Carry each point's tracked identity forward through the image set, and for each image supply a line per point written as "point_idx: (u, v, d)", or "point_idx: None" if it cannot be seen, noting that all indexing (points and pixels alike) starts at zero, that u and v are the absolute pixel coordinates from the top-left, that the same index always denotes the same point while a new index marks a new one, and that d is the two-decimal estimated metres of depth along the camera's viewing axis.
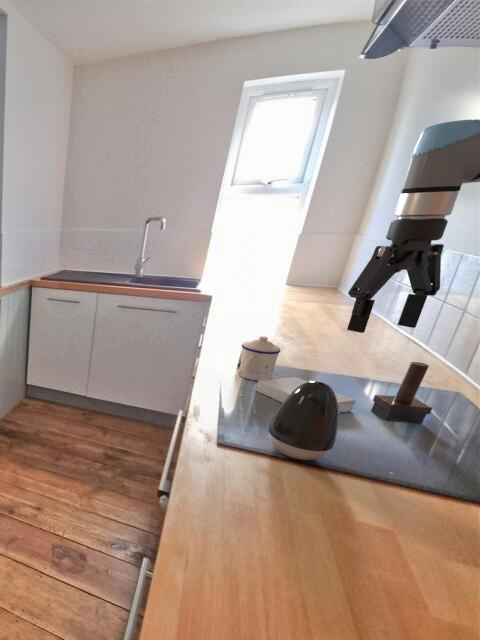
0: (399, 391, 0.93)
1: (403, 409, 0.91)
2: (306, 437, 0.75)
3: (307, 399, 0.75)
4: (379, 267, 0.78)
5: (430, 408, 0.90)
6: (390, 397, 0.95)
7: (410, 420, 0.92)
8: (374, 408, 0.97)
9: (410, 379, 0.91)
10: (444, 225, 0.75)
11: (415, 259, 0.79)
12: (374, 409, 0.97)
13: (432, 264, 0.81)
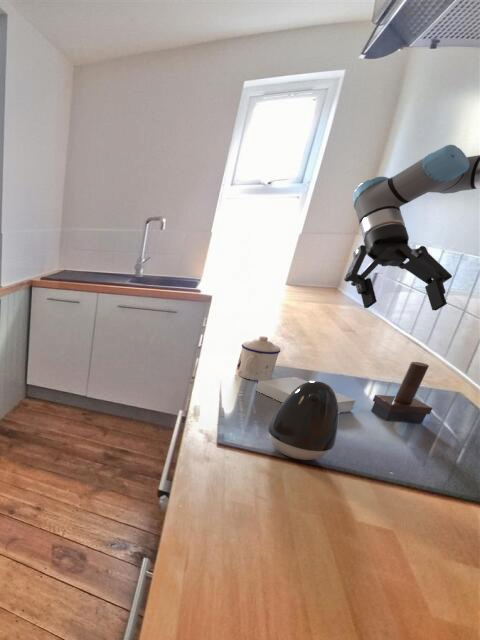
0: (399, 391, 0.93)
1: (403, 409, 0.91)
2: (306, 437, 0.75)
3: (307, 399, 0.75)
4: (358, 257, 1.00)
5: (430, 408, 0.90)
6: (390, 397, 0.95)
7: (410, 420, 0.92)
8: (374, 408, 0.97)
9: (410, 379, 0.91)
10: (400, 226, 0.98)
11: (397, 254, 0.99)
12: (374, 409, 0.97)
13: (426, 260, 0.98)
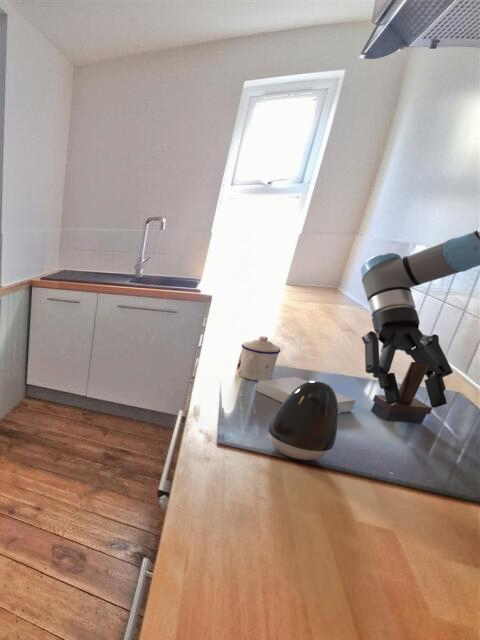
0: (399, 391, 0.93)
1: (403, 409, 0.91)
2: (306, 437, 0.75)
3: (307, 399, 0.75)
4: (372, 346, 0.95)
5: (430, 408, 0.90)
6: None
7: (410, 420, 0.92)
8: (374, 408, 0.97)
9: (410, 379, 0.91)
10: (410, 310, 0.94)
11: (407, 339, 0.94)
12: (374, 409, 0.97)
13: (433, 349, 0.93)
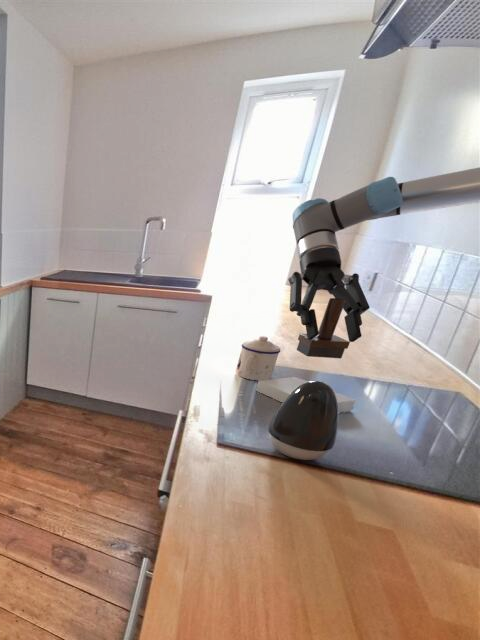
0: (320, 327, 0.96)
1: (322, 344, 0.95)
2: (306, 437, 0.75)
3: (307, 399, 0.75)
4: (296, 285, 0.98)
5: (348, 342, 0.94)
6: None
7: (330, 355, 0.96)
8: (299, 346, 1.00)
9: (329, 314, 0.94)
10: (332, 250, 0.97)
11: (329, 278, 0.97)
12: (298, 348, 1.00)
13: (353, 287, 0.96)
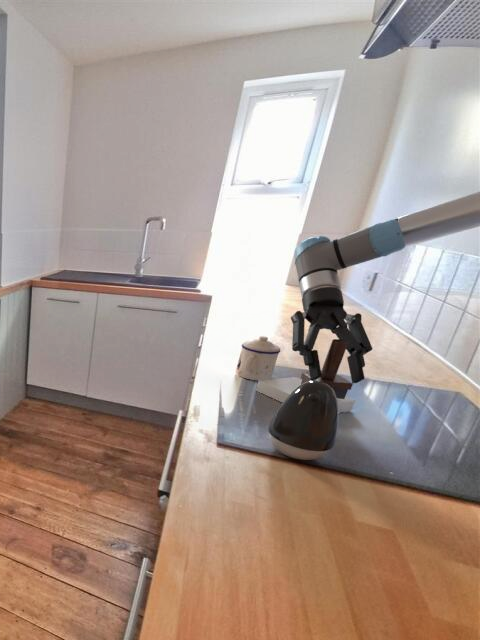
0: (323, 368, 0.96)
1: None
2: (306, 437, 0.75)
3: (307, 399, 0.75)
4: (298, 325, 0.98)
5: (351, 384, 0.94)
6: None
7: None
8: None
9: (331, 356, 0.94)
10: (334, 290, 0.97)
11: (332, 318, 0.97)
12: None
13: (355, 328, 0.96)
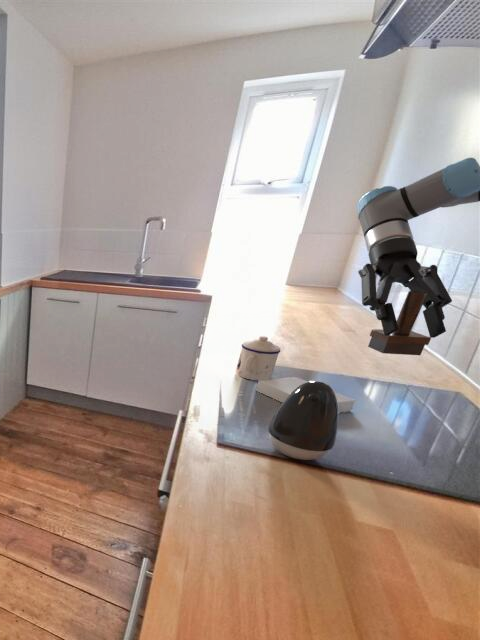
0: (397, 322, 0.90)
1: (401, 340, 0.89)
2: (306, 437, 0.75)
3: (307, 399, 0.75)
4: (369, 278, 0.92)
5: (429, 338, 0.88)
6: None
7: (408, 352, 0.89)
8: (371, 343, 0.94)
9: (408, 308, 0.88)
10: (407, 240, 0.91)
11: (405, 270, 0.91)
12: (371, 344, 0.94)
13: (431, 280, 0.90)
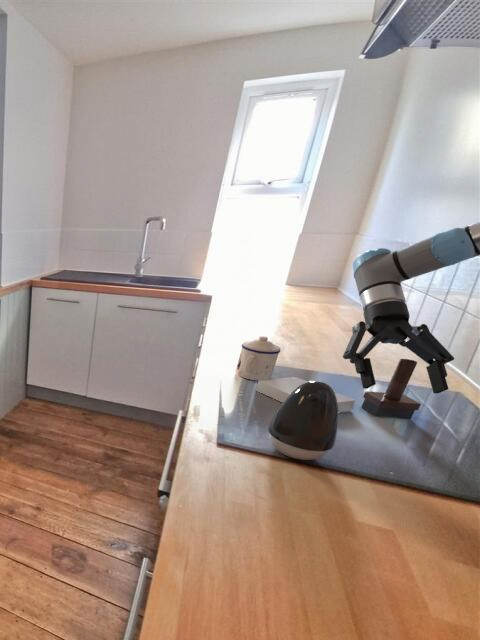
0: (388, 387, 0.95)
1: (392, 405, 0.93)
2: (306, 437, 0.75)
3: (307, 399, 0.75)
4: (357, 334, 0.97)
5: (418, 404, 0.92)
6: (380, 393, 0.97)
7: (399, 416, 0.94)
8: (364, 404, 0.99)
9: (399, 376, 0.92)
10: (400, 304, 0.96)
11: (398, 332, 0.96)
12: (364, 405, 0.99)
13: (427, 339, 0.95)
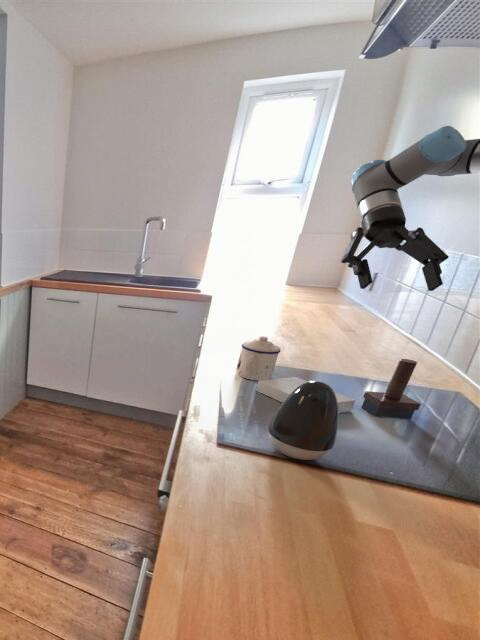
0: (388, 387, 0.95)
1: (392, 405, 0.93)
2: (306, 437, 0.75)
3: (307, 399, 0.75)
4: (355, 239, 1.01)
5: (418, 404, 0.92)
6: (380, 393, 0.97)
7: (399, 416, 0.94)
8: (364, 404, 0.99)
9: (399, 376, 0.92)
10: (397, 208, 0.99)
11: (394, 236, 0.99)
12: (364, 405, 0.99)
13: (422, 241, 0.98)
